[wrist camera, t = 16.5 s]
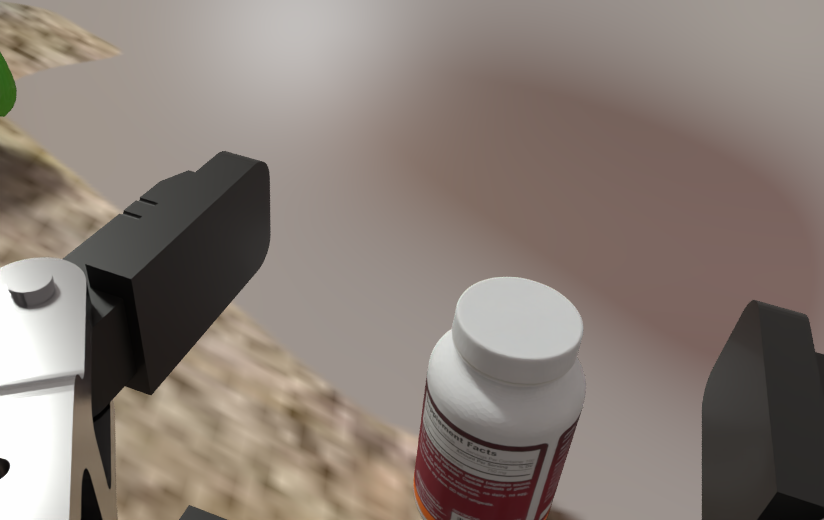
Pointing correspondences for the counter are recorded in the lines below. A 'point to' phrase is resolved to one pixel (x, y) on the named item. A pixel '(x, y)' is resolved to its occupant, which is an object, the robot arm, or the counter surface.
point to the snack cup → (6, 88)
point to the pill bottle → (500, 404)
